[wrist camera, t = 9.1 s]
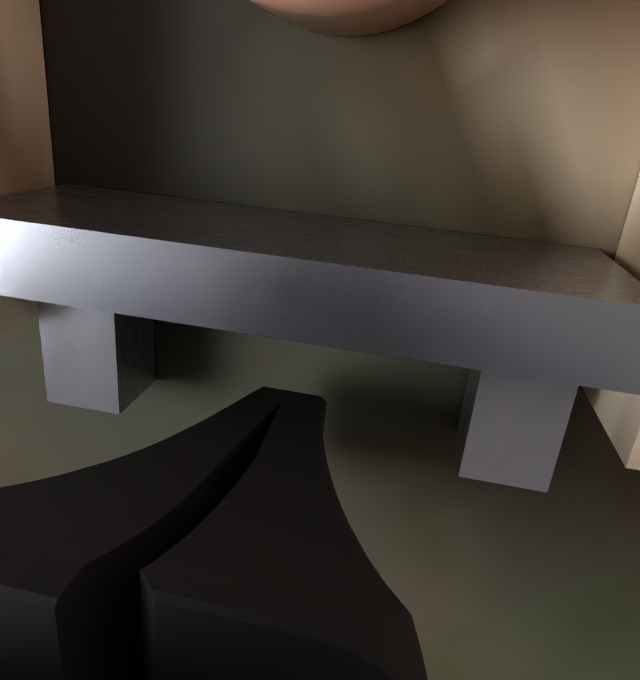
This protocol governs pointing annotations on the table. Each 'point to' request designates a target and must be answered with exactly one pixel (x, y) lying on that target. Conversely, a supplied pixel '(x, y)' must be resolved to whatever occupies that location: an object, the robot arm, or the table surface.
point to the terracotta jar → (348, 14)
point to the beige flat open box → (37, 172)
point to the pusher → (325, 305)
